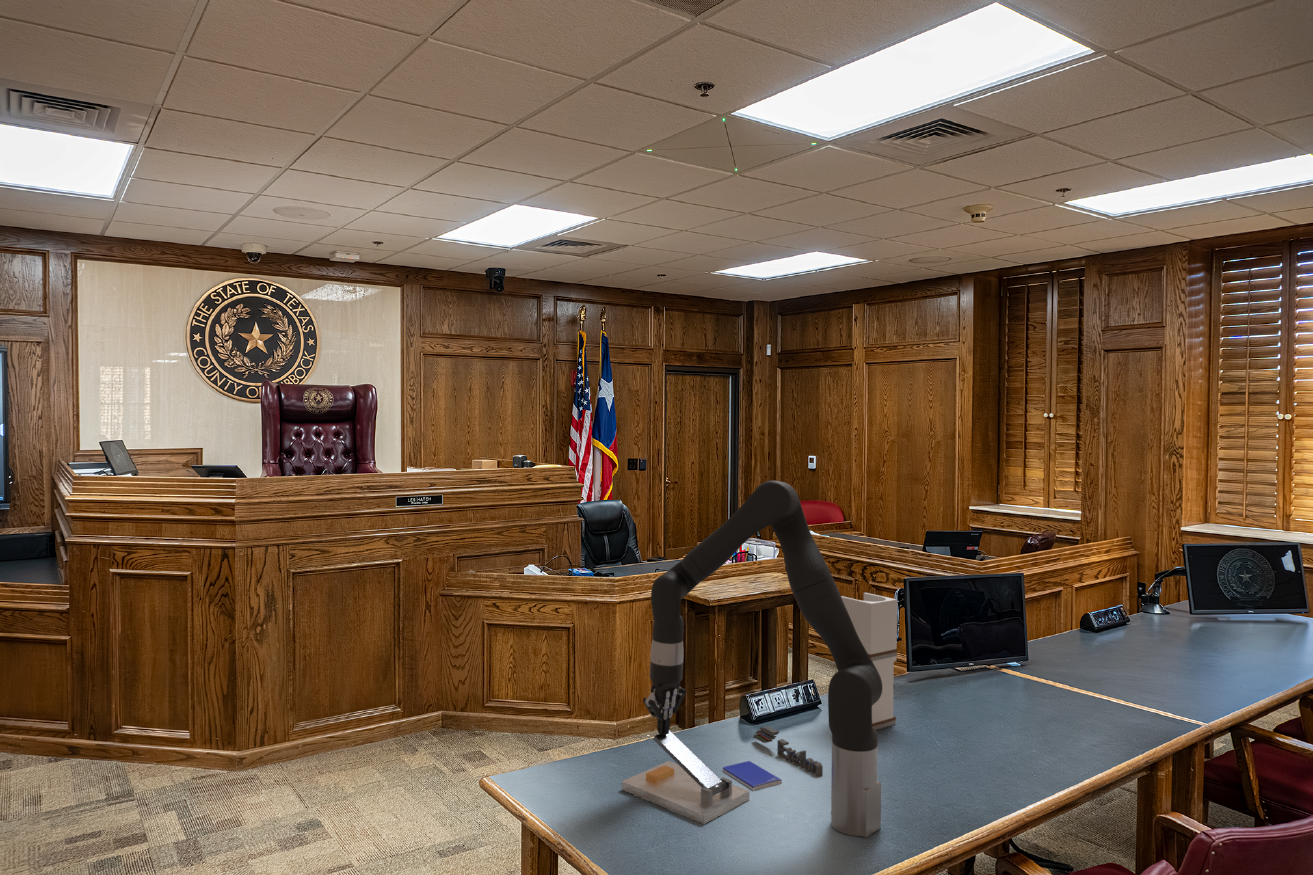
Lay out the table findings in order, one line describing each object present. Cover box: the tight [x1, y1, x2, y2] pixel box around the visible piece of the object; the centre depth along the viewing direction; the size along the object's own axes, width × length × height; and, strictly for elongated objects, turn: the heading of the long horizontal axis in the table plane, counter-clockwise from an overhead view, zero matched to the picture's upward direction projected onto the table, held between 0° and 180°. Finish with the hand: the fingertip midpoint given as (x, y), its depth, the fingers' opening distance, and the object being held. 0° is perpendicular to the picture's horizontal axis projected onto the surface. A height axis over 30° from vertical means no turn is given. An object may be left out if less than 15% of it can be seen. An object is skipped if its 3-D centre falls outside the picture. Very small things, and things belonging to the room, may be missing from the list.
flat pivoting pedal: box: [653, 729, 727, 796], centre depth 186 cm, size 19×5×2 cm, turn 47°
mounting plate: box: [621, 760, 750, 825], centre depth 186 cm, size 24×16×5 cm, turn 48°
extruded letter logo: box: [752, 726, 824, 777], centre depth 208 cm, size 25×2×6 cm, turn 31°
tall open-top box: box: [841, 592, 898, 731], centre depth 234 cm, size 11×11×35 cm
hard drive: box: [722, 760, 783, 791], centre depth 196 cm, size 2×8×12 cm
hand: (663, 733), depth 191 cm, fingers closed
